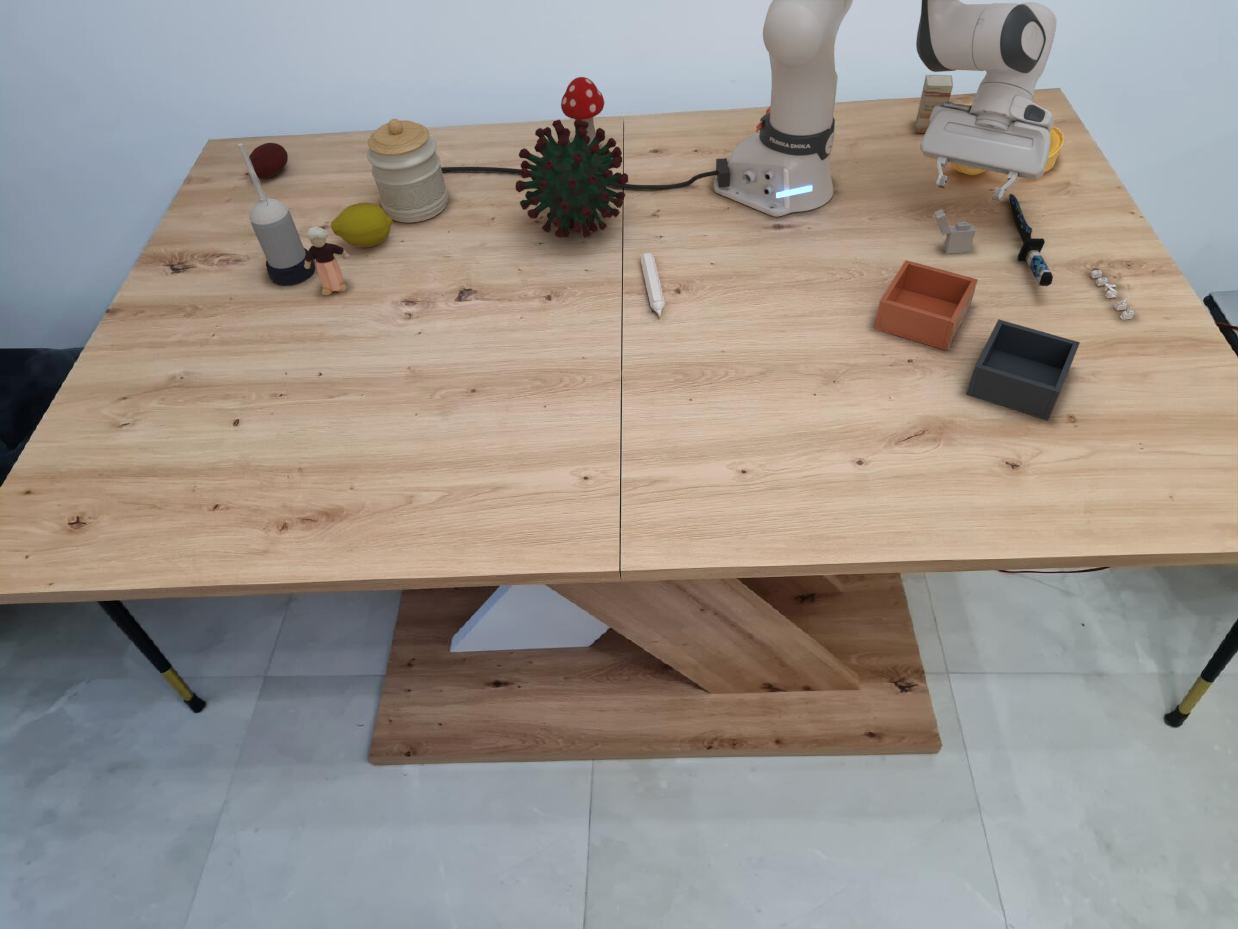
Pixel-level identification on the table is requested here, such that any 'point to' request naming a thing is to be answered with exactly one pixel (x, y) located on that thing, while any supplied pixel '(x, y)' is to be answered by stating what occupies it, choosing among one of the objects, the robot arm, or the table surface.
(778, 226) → the table surface
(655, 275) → the marker
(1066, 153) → the table surface
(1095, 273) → the figurines set
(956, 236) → the lighter
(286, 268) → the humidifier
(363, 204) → the lemon
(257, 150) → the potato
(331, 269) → the grandmother figurine
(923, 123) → the beige brown box
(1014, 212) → the knife
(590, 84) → the decorative mushroom
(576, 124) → the virus model
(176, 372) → the table surface
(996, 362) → the grey bin
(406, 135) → the jar
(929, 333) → the terracotta bin
